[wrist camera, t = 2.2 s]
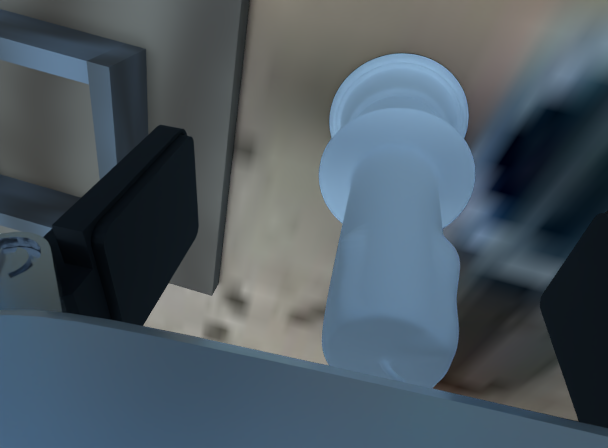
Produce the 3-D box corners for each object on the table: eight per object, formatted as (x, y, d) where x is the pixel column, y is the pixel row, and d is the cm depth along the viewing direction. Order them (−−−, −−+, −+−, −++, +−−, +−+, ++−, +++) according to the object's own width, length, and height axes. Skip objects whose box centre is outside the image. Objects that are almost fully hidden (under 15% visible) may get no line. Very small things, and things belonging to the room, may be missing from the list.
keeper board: (253, -36, 15) (217, -25, 12) (218, 283, 24) (193, 330, 22) (-173, -149, 15) (-303, -163, 12) (-42, 207, 25) (-99, 243, 22)
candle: (434, 22, 15) (484, 218, 5) (488, 149, 17) (596, 454, 7) (305, 96, 17) (174, 324, 7) (368, 199, 19) (328, 477, 10)
